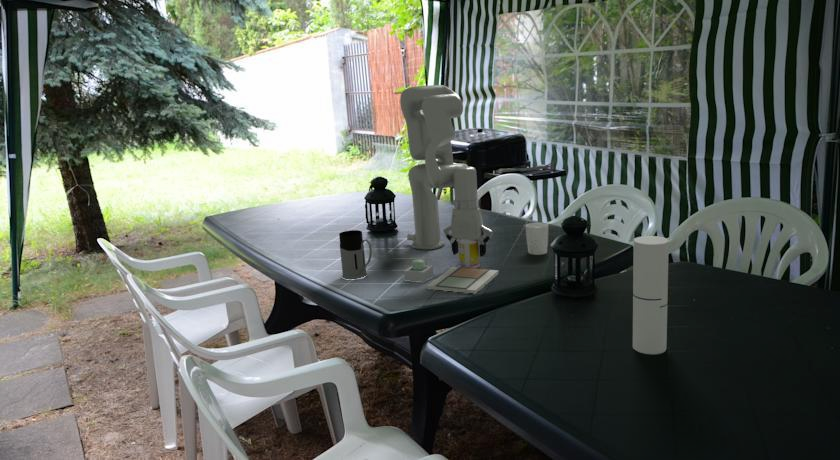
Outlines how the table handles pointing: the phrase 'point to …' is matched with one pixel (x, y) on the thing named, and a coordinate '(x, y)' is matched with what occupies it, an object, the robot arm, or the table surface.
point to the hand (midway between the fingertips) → (469, 254)
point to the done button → (418, 265)
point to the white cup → (537, 238)
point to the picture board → (463, 279)
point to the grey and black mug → (353, 254)
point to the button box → (418, 274)
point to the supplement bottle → (468, 253)
